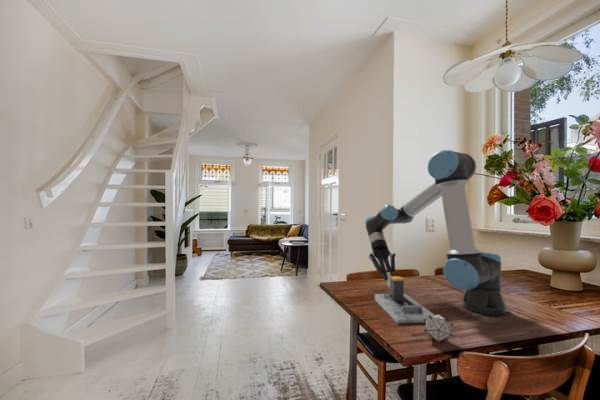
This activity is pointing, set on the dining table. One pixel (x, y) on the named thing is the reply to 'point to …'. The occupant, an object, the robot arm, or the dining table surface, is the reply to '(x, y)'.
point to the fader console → (403, 309)
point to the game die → (438, 327)
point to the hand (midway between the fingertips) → (391, 286)
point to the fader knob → (397, 288)
